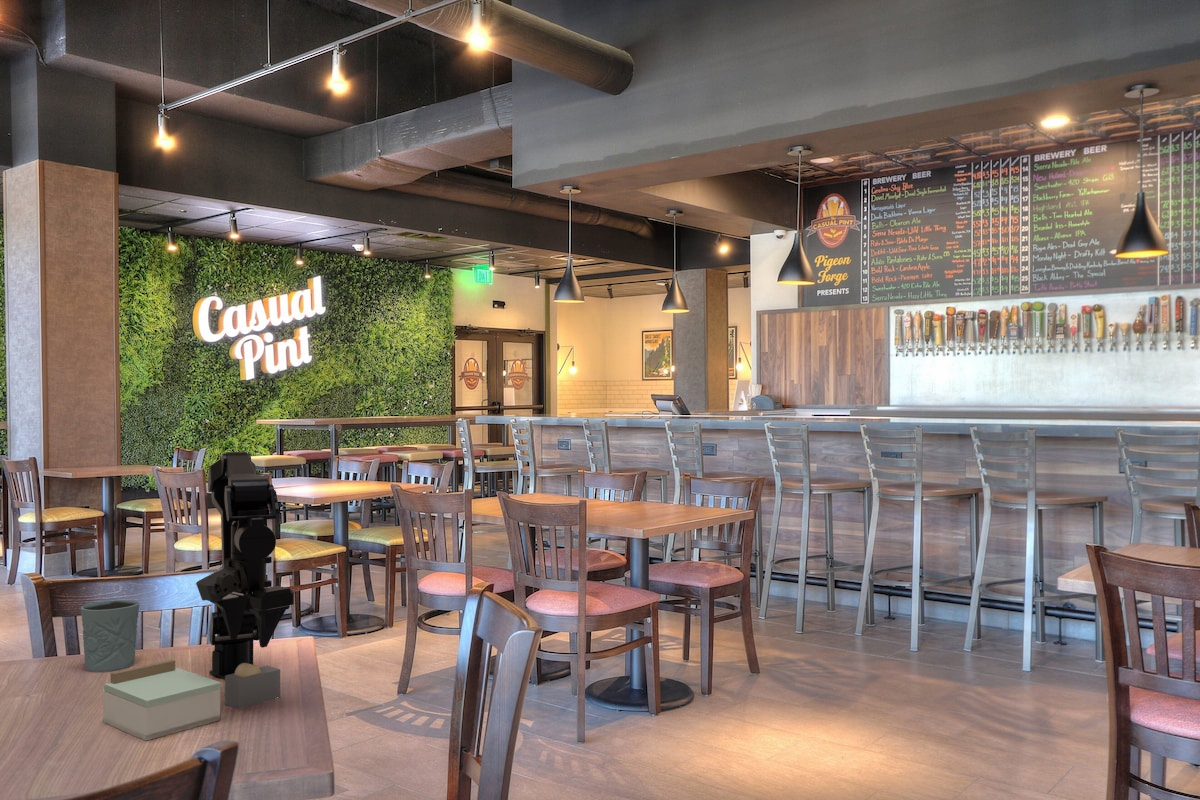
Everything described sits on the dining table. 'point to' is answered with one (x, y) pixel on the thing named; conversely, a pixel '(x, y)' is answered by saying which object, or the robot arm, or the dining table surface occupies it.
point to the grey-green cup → (109, 634)
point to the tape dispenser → (251, 685)
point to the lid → (158, 684)
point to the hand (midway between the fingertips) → (248, 642)
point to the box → (160, 714)
